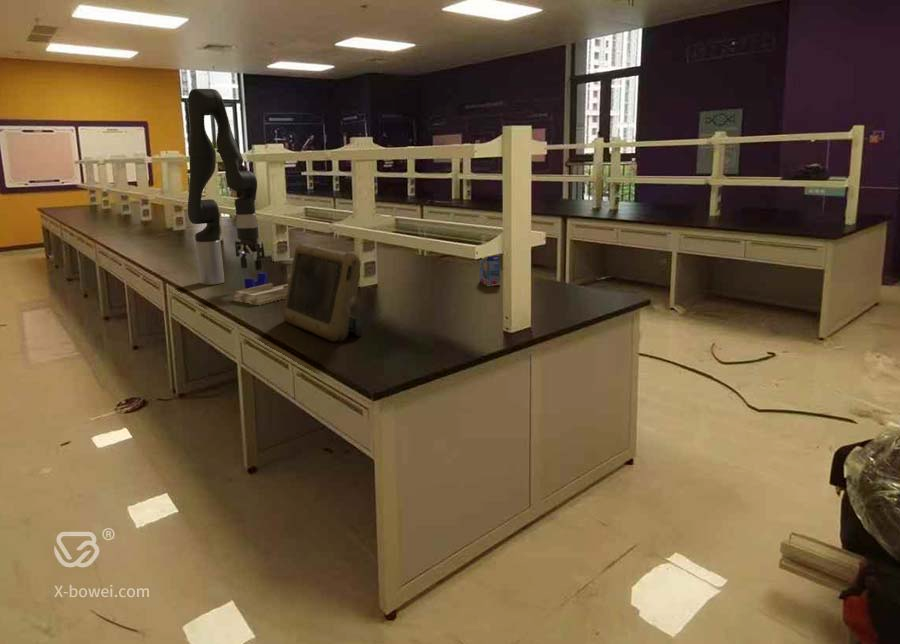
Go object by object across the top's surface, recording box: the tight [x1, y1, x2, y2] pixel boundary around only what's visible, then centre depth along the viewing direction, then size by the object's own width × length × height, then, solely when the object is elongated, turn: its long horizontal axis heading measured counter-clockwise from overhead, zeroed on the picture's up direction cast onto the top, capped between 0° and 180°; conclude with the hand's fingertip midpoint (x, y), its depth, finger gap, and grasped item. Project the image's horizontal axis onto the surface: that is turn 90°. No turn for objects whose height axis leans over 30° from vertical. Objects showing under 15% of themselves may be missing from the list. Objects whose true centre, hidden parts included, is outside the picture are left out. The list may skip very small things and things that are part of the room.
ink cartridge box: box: [478, 254, 501, 285], centre depth 254 cm, size 10×6×14 cm, turn 18°
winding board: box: [232, 257, 294, 306], centre depth 238 cm, size 14×27×12 cm, turn 144°
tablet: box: [282, 240, 363, 343], centre depth 193 cm, size 33×14×25 cm, turn 45°
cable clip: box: [243, 272, 269, 289], centre depth 247 cm, size 12×4×6 cm, turn 169°
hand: (251, 269), depth 245 cm, fingers open, 8 cm apart
